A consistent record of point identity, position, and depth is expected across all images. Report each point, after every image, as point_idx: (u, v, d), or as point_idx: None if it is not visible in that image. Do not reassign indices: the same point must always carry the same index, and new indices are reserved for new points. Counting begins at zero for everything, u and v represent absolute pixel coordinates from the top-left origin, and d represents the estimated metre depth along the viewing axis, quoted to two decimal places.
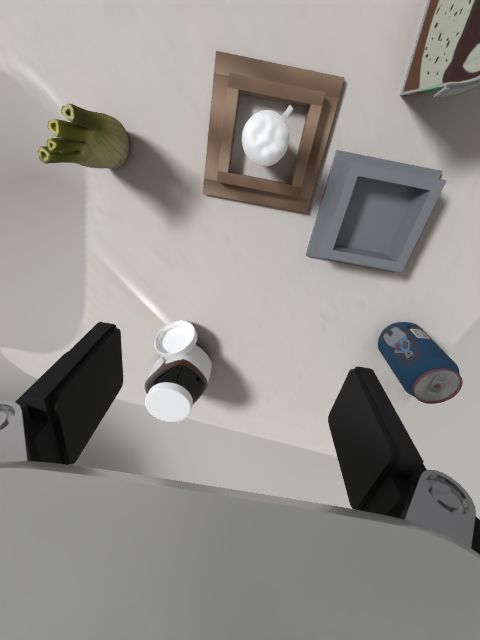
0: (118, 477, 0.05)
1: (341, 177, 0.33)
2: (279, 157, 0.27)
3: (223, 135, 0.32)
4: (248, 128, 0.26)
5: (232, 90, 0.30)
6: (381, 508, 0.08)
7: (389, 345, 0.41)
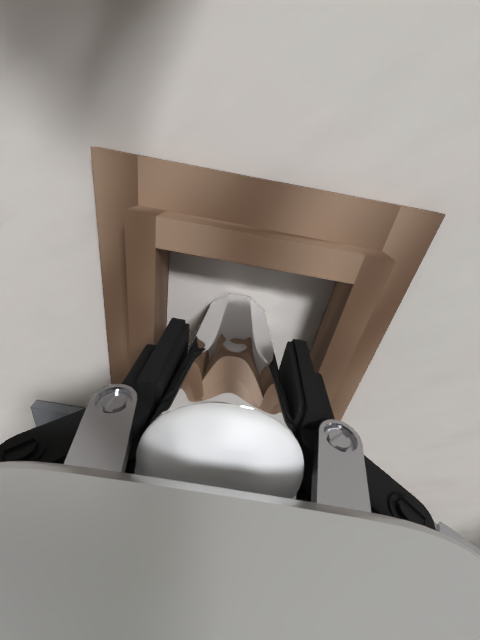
0: (118, 477, 0.05)
1: None
2: None
3: (251, 238, 0.10)
4: (250, 452, 0.06)
5: (354, 268, 0.11)
6: None
7: None
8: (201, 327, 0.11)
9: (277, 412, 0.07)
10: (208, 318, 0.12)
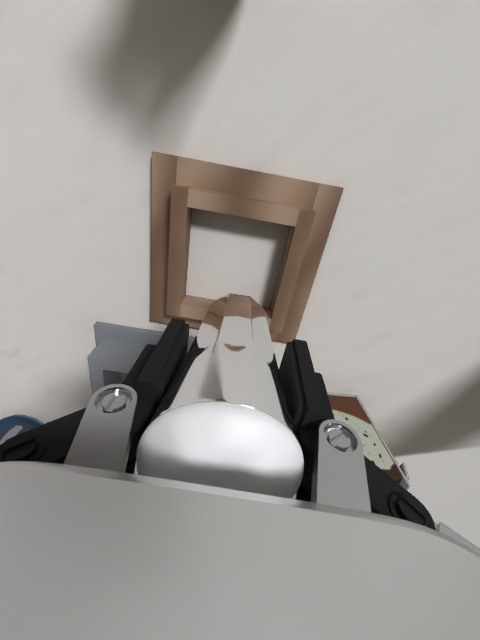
0: (118, 477, 0.05)
1: None
2: None
3: (239, 200, 0.20)
4: (250, 450, 0.06)
5: (295, 217, 0.20)
6: None
7: None
8: (201, 327, 0.11)
9: (277, 411, 0.07)
10: (208, 318, 0.12)
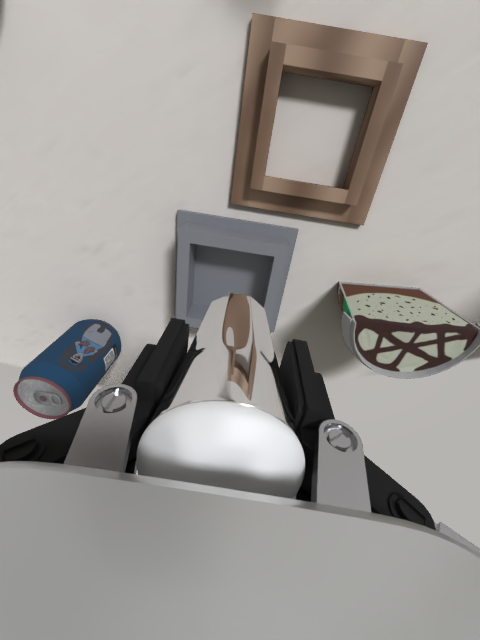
0: (118, 477, 0.05)
1: (271, 239, 0.29)
2: None
3: (332, 54, 0.21)
4: (251, 450, 0.06)
5: (382, 70, 0.22)
6: None
7: (83, 334, 0.33)
8: (201, 326, 0.11)
9: (278, 410, 0.07)
10: (208, 317, 0.12)
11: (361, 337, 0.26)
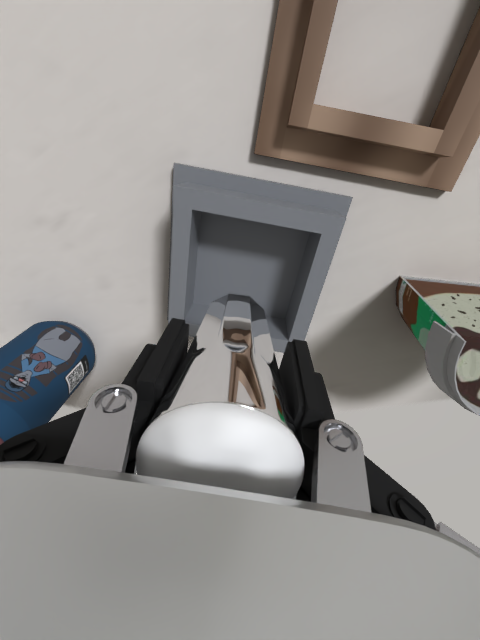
0: (118, 477, 0.05)
1: (315, 208, 0.19)
2: None
3: None
4: (250, 451, 0.06)
5: None
6: None
7: (37, 342, 0.23)
8: (201, 327, 0.11)
9: (277, 412, 0.07)
10: (208, 318, 0.12)
11: (462, 362, 0.16)
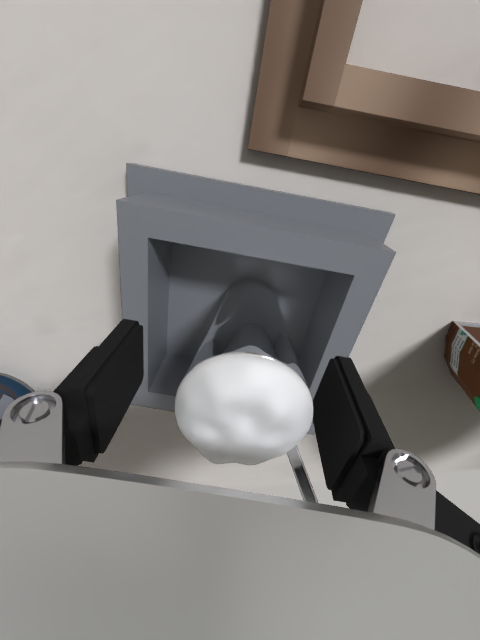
0: (118, 477, 0.05)
1: (341, 233, 0.12)
2: None
3: None
4: (269, 389, 0.08)
5: None
6: (352, 486, 0.08)
7: None
8: (221, 306, 0.13)
9: (290, 363, 0.09)
10: (226, 299, 0.14)
11: None
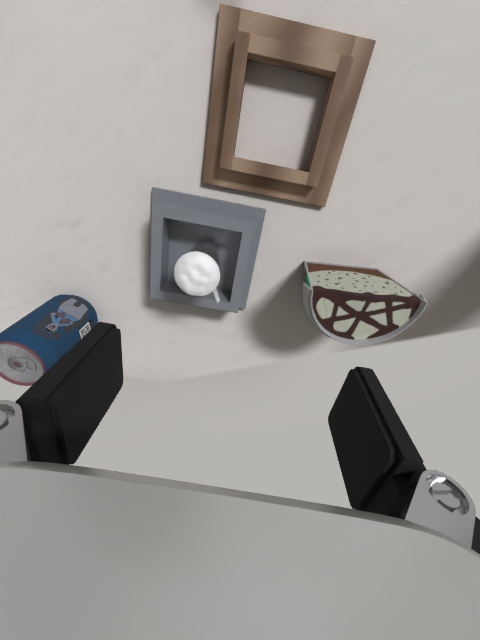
0: (118, 477, 0.05)
1: (240, 216, 0.31)
2: (182, 289, 0.28)
3: (291, 45, 0.24)
4: (202, 260, 0.26)
5: (336, 62, 0.24)
6: (381, 508, 0.08)
7: (59, 306, 0.34)
8: None
9: (211, 256, 0.27)
10: (195, 245, 0.32)
11: (319, 306, 0.28)
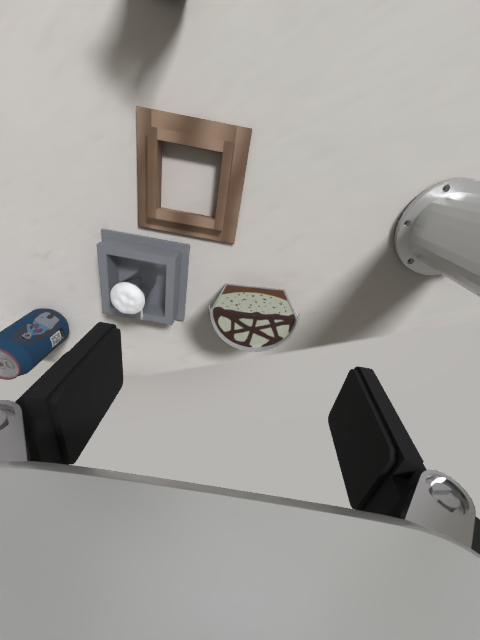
0: (118, 477, 0.05)
1: (167, 252, 0.40)
2: None
3: (187, 135, 0.33)
4: (128, 289, 0.35)
5: (221, 145, 0.33)
6: (381, 508, 0.08)
7: (35, 319, 0.44)
8: None
9: (137, 285, 0.36)
10: None
11: (220, 322, 0.37)
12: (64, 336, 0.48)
